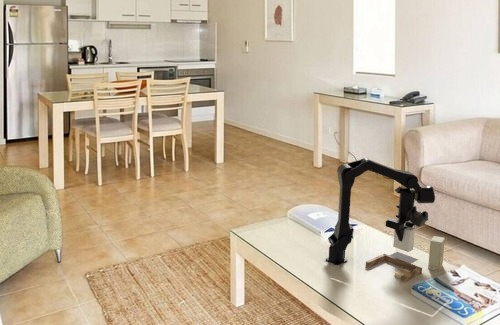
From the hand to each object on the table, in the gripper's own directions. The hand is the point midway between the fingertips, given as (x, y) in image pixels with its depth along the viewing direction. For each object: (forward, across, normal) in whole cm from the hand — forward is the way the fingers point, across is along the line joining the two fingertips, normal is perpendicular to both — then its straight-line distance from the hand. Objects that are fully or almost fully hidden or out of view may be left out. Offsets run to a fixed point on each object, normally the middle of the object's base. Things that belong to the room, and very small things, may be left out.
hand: (403, 239), depth 206 cm
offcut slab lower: (+9, -13, -9) cm, 18 cm away
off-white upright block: (+4, 0, 0) cm, 4 cm away
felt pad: (+8, 0, 0) cm, 8 cm away
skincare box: (+9, +3, -13) cm, 16 cm away
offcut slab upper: (+8, -13, -9) cm, 18 cm away
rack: (+8, -12, -4) cm, 15 cm away
